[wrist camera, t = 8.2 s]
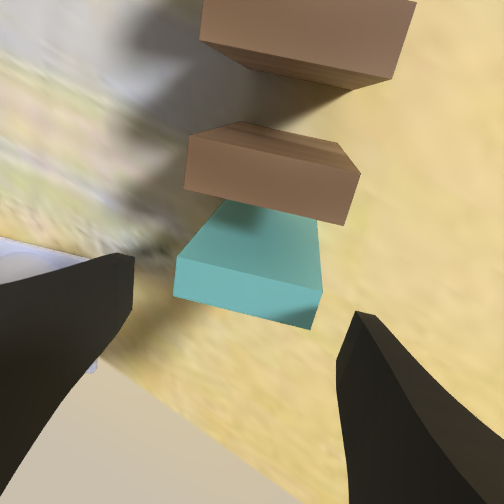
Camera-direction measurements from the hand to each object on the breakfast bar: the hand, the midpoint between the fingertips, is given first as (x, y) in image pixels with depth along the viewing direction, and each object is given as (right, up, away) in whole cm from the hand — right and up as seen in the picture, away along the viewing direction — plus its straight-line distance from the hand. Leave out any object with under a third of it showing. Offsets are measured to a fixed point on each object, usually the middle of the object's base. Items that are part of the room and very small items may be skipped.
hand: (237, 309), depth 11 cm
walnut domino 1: (+3, +11, +5) cm, 12 cm away
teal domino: (+1, +4, +8) cm, 9 cm away
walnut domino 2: (+2, +7, +6) cm, 10 cm away
